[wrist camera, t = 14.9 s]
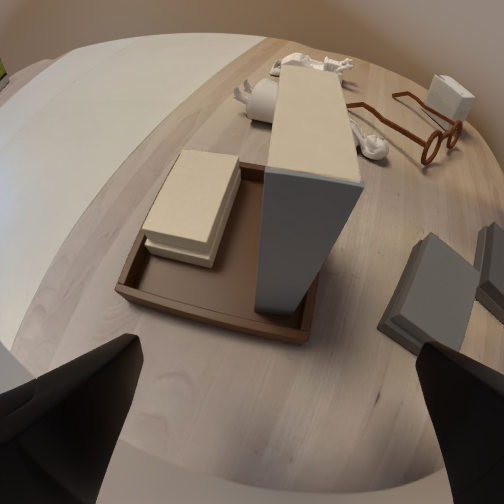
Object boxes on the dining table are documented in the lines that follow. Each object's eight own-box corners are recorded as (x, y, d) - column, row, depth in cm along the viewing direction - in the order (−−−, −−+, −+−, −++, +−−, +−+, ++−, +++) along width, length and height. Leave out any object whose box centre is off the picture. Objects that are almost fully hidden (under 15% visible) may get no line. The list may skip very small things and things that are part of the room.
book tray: (301, 345, 18) (308, 341, 16) (125, 299, 19) (113, 290, 17) (323, 194, 23) (328, 178, 22) (183, 169, 25) (179, 153, 23)
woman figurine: (263, 59, 28) (400, 115, 25) (260, 87, 32) (386, 140, 29) (210, 97, 23) (389, 172, 21) (211, 130, 27) (370, 201, 25)
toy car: (275, 62, 37) (277, 41, 33) (347, 77, 35) (352, 56, 31) (267, 76, 34) (269, 51, 30) (348, 93, 33) (354, 69, 29)
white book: (291, 316, 18) (364, 187, 6) (253, 311, 18) (264, 171, 6) (298, 227, 21) (338, 72, 9) (265, 223, 21) (281, 63, 10)
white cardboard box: (460, 129, 32) (477, 98, 25) (445, 132, 31) (464, 97, 24) (435, 106, 34) (450, 75, 28) (419, 108, 33) (434, 73, 26)
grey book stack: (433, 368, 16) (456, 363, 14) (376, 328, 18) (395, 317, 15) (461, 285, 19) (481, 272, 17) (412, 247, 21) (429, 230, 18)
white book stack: (211, 268, 19) (206, 249, 17) (150, 254, 20) (137, 234, 17) (241, 180, 23) (240, 155, 20) (188, 172, 24) (182, 148, 21)
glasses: (418, 172, 26) (437, 141, 21) (341, 107, 30) (349, 76, 26) (455, 147, 29) (469, 123, 25) (392, 95, 34) (401, 71, 29)
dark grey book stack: (502, 324, 17) (521, 314, 15) (467, 291, 19) (487, 279, 16) (510, 263, 20) (525, 251, 18) (478, 231, 22) (493, 217, 20)
